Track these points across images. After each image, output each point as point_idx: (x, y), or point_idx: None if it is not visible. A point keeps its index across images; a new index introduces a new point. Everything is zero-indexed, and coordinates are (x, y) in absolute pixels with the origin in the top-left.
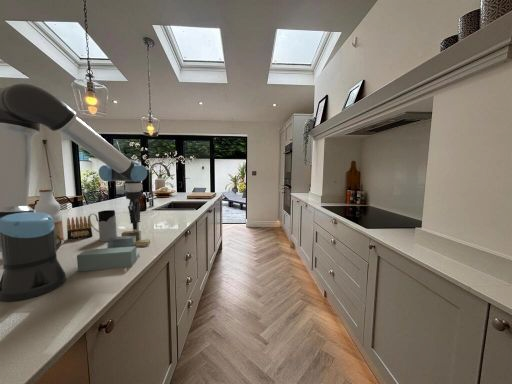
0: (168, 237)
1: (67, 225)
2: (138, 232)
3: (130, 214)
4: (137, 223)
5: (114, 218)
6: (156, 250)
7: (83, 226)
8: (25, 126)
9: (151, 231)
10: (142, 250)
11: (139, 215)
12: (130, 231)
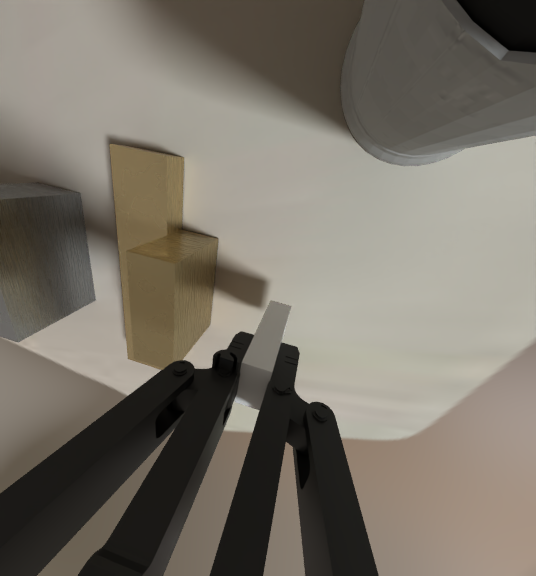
0: (246, 429)
1: None
2: (135, 354)
3: (54, 461)
4: (237, 395)
5: (501, 110)
6: (85, 363)
7: None
8: None
9: (444, 394)
10: (88, 321)
11: (302, 502)
12: (163, 312)
